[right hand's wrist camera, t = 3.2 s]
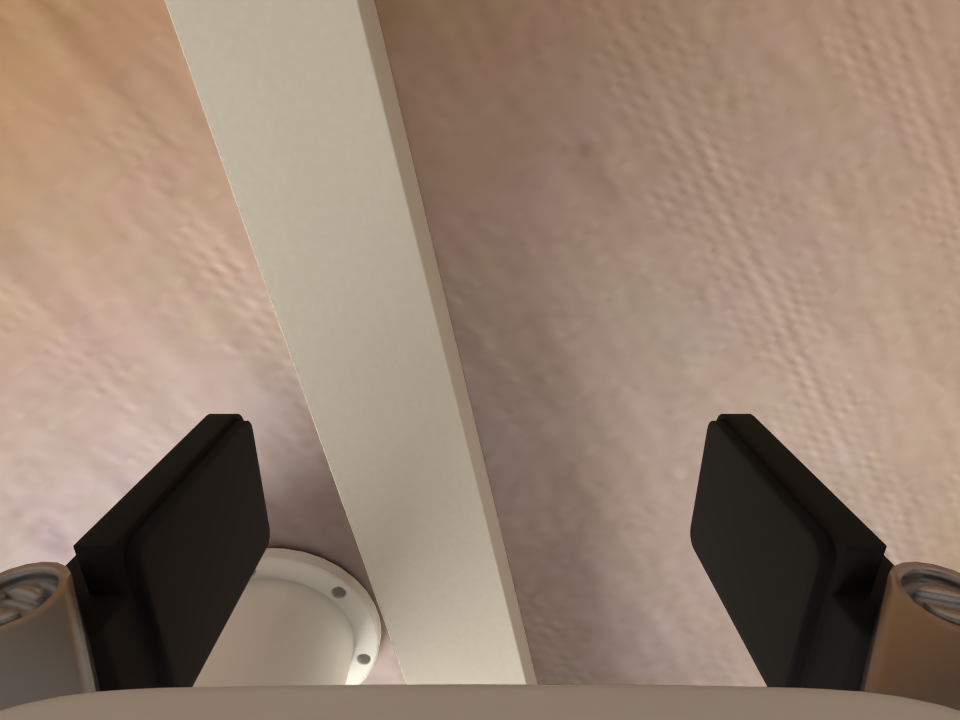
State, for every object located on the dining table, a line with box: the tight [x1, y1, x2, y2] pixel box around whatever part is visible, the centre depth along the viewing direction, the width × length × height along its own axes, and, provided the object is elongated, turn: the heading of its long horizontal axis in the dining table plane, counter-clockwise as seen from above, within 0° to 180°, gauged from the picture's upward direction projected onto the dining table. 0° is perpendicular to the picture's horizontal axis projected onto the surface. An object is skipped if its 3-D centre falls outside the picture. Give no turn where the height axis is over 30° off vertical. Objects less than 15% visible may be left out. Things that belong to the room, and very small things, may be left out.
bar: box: [165, 0, 537, 685], centre depth 33 cm, size 74×6×6 cm, turn 12°
